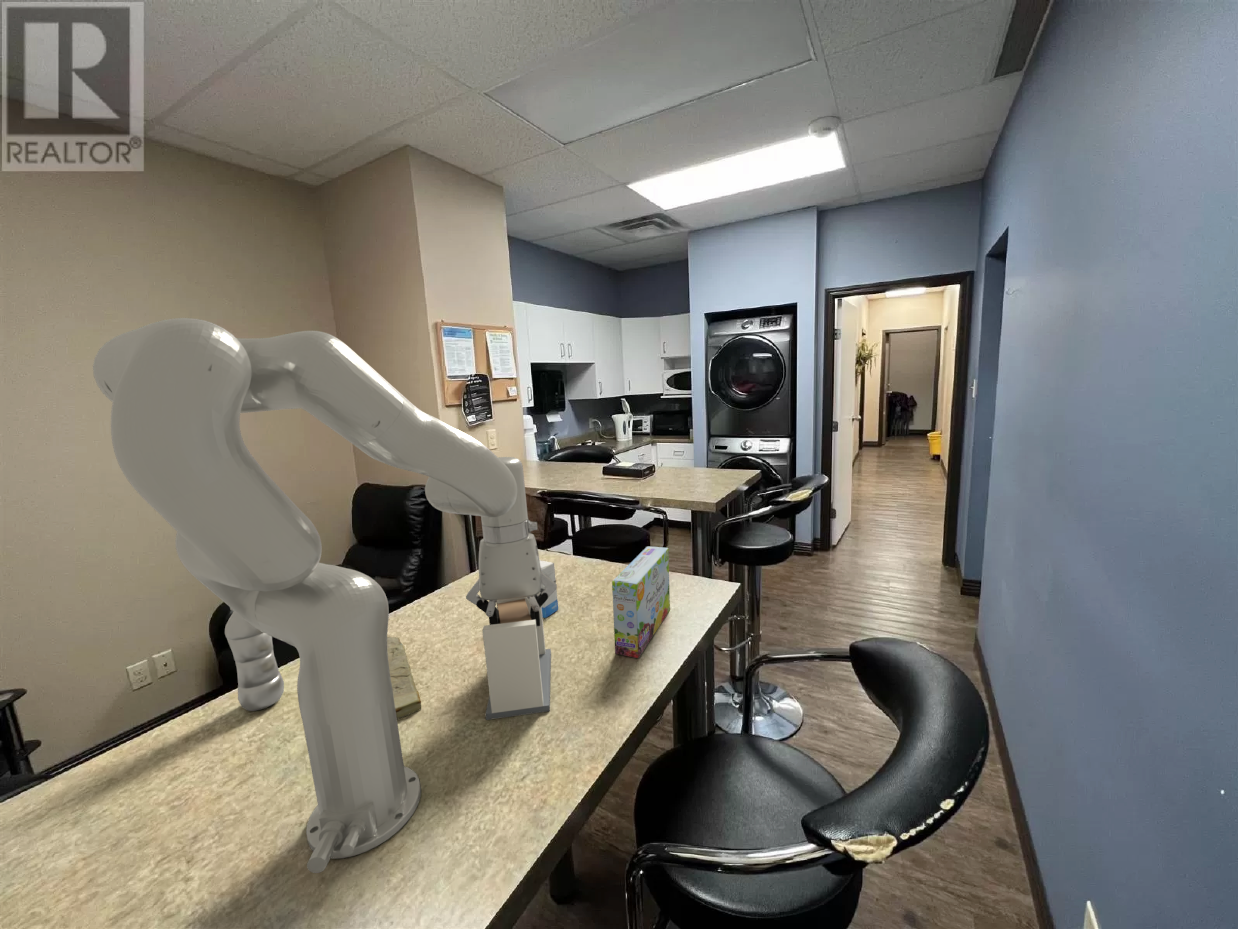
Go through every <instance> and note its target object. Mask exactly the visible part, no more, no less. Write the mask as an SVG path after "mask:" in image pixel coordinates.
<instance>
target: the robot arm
mask: <svg viewBox="0 0 1238 929" xmlns="http://www.w3.org/2000/svg"><path fill="white" fill-rule="evenodd" d="M92 371H93V377H94V379H95V380H94V381H95V383H96V386H97V387H98V388H99V390H100V392H101V393H102V394H103V395H104V396H105V397H106V398H107V399H108V400H109V401H111V402H112V404H111V405H112V406H111V412H110V436H111V443H112V447H113V453H114V456H115V458H116V461H117V464H118V466H119V468H120V470H121V472H122V474H123V476H124V477H125V478H126V480H127V481H128V482H129V484H130V485H131V487H132V488H133V489H134V490H135V491H136V493H137V494H139V496H140V497H141V498H143V500H145V502H146V503H147V504H149V506H150V507H151V508H153V509H154V510H155V512H157V513H158V514H159V515H160V516H161V517H162V518H163V519H164V520H165V521H166V522H167V523H168V524H169V525H170V527H172V529H174V530H175V531H176V535H175V549H176V554H177V557H178V559H179V560H180V562H181V563H182V565H183V567H184V568H185V569H186V570H187V571H188V573H190V574H191V576H193V577H194V578H195V579H196V580H197V581H199V583H200V584H202V585H203V586H204V587H205V588H207V589H208V590H209V591H211V593H212V594H214V595H215V596H216V597H217V598H218V599H220V600H221V601H222V602H223V603H225V604H226V605H227V606H228V607H229V608H230V607H231V608H232V609H233V610H234V611H235V612H237V613H238V614H239V615H240V616H242V617H243V618H244V619H245V620H247V621H248V622H249V623H250V624H252V625H253V626H254V627H256V628H257V629H259V630H260V631H262V632H264V633H266V634H268V635H270V636H272V638H275V639H277V640H279V641H282V642H284V643H285V644H288V645H290V646H293V647H294V648H296V650H297V652H298V655H299V671H298V674H297V675H298V676H297V681H296V682H297V683H296V684H297V685H296V686H297V687H296V689H297V690H296V691H297V692H296V693H297V700H298V706H299V712H300V717H301V720H302V726H303V731H304V737H305V741H306V747H307V753H308V758H309V764H310V765H309V766H310V770H311V774H312V780H313V785H314V791H315V796H316V802H317V805H316V806H315V808H314V810H313V811H312V812H311V814H310V816H309V818H308V821H307V825H306V830H305V831H306V832H305V833H306V838H307V844H308V846H309V848H310V850H311V851H312V854H311V855H310V858H309V860H308V861H307V863H306V868H307V870H308V871H309V872H311V873H313V874H319V873H322V872H323V871H324V870H325V869H326V868H327V867H328V863H329V862H330V860H331V859H332V860H333V859H344V858H350V857H354V856H356V855H357V856H358V855H360V854H363V853H366V852H368V851H370V850H372V849H374V848H376V847H378V846H379V845H381V844H383V843H384V842H386V841H387V840H390V838H391V837H393V836H394V835H395V834H396V833H397V832H399V831H400V830H401V829H402V828H403V826H404V825H406V824H407V823H408V821H409V820H410V819H411V817H412V816H413V814H415V811H416V810H417V808H418V805H419V803H420V800H421V795H422V794H421V793H422V788H421V781H420V779H419V775H418V774H417V773H416V771H415V770H414V769H411V768H410V767H408V766H405V763H404V757H403V751H402V745H401V738H400V737H401V736H400V732H399V726H398V725H399V723H398V719H397V717H396V710H395V703H394V696H393V689H392V683H391V678H390V671H389V663H388V652H387V637H388V633H389V632H388V630H389V615H390V614H389V612H390V611H389V608H390V606H389V601H388V598H387V596H386V593H385V591H384V589H383V588H382V586H381V585H380V584H379V583H378V582H377V581H376V580H375V579H373V578H372V577H371V576H369V575H367V574H365V573H363V572H361V571H358V570H355V569H352V568H346V567H342V566H338V565H335V564H327V563H324V562H320V561H321V558H322V553H323V552H322V551H323V549H322V548H323V547H322V546H323V545H322V540H321V536H320V533H319V532H318V529H317V527H316V526H315V525H314V523H313V522H312V521H311V519H310V518H309V517H308V516H307V515H306V514H305V512H303V511H302V510H301V509H300V508H299V507H298V506H297V505H296V503H294V501H292V500H291V498H290V497H289V496H288V495H287V494H286V493H285V492H284V491H283V489H281V487H280V486H279V485H278V484H277V483H276V482H275V481H274V480H273V479H272V478H271V476H270V475H269V474H267V472H266V471H265V470H264V469H263V467H262V465H261V464H260V463H259V462H258V461H257V460H256V458H255V457H254V456H253V455H252V453H251V452H250V450H249V448H248V447H247V445H246V444H245V441H244V439H243V436H242V432H241V427H240V426H241V425H240V424H241V423H240V421H241V414H246V413H247V414H248V413H257V412H268V411H280V410H282V411H283V410H293V409H294V410H295V409H296V410H297V409H302V410H303V411H306V412H307V413H308V414H310V415H312V416H313V417H314V418H315V419H316V420H318V421H320V423H322V424H324V425H325V426H326V427H328V428H330V429H331V430H332V431H333V432H335V433H336V434H338V435H339V436H341V437H342V438H343V439H345V440H346V441H347V442H349V443H351V445H353V446H354V447H355V448H357V449H359V450H360V451H361V452H362V453H364V454H366V456H368V457H370V458H371V459H373V460H375V461H378V462H380V463H383V464H385V465H387V466H390V467H394V468H396V469H400V470H404V471H407V472H412V473H417V474H420V475H422V476H427V477H428V478H427V480H426V483H425V488H424V492H425V493H424V494H425V497H426V499H427V501H428V503H429V504H430V505H431V506H432V507H433V508H434V509H436V510H438V511H440V512H444V513H448V514H456V515H465V516H467V515H469V516H477V517H480V518H481V527H482V537H483V538H482V539H480V541H479V548H478V549H479V551H478V579H477V581H476V582H475V583H474V584H473V585H472V587H471V588H470V589H469V590H468V592H467V594H466V595H465V596H466V597H465V599H466V600H467V601H469V602H470V603H471V604H473V605H476V607H477V609H479V610H481V611H482V612H483V613H485V615H486V617H487V618H488V622H489V624H488V625H493V624H500V619H499V610H498V608H497V600H503V599H512V598H521V597H527V599H528V601H529V603H530V605H531V609H530V617H531V620H536V629H537V626H540V614H539V609H540V607H541V606H542V605H543V604H544V603H545V601H546V600H547V599H548V597H549V596H551V595H552V593H553V592H554V591H555V590H556V589H557V588H558V585H557V582H556V583H555V582H554V581H552V580H551V579H550V578H549V577H548V576H547V575H545V574H544V573H543V572H542V571H541V566H540V560H541V559H540V554H539V549H538V545H537V540H536V537H535V535H534V534H533V533H532V532H533V531H538V521H531V520H530V519H529V516H528V515H529V514H528V507H527V506H528V505H527V497H526V496H527V494H526V486H525V475H524V465H523V463H522V461H521V459H520V458H517V457H514V456H499V457H498V456H497V455H496V454H495V453H494V452H493V451H492V450H491V449H489V448H488V447H487V446H486V445H485V444H484V443H482V442H480V441H479V440H477V439H476V438H474V437H472V436H471V435H469V434H467V433H465V432H463V431H462V430H459V429H458V428H456V427H454V426H452V425H451V424H448V423H446V422H444V421H443V420H441V419H440V418H437V417H435V416H433V415H431V414H428V412H427V413H426V412H424V411H423V410H421V409H420V408H418V407H417V406H416V405H415V404H414V403H412V402H411V401H410V400H409V399H408V398H407V397H406V396H404V395H403V394H402V393H401V392H400V391H399V390H398V389H396V387H394V386H393V385H392V384H391V383H390V382H388V380H387V379H385V378H384V377H383V376H382V375H381V374H380V373H379V372H377V370H375V369H374V368H373V367H372V366H371V365H370V364H368V362H367V361H365V360H364V359H363V358H362V357H361V356H360V355H358V354H357V353H356V352H355V351H354V350H353V349H352V348H351V347H350V346H348V345H347V344H346V343H345V342H344V341H342V340H341V339H339V338H337V337H336V336H334V335H332V334H330V333H328V332H324V331H319V330H302V331H296V332H295V331H294V332H290V333H287V334H285V333H284V334H281V335H277V336H271V337H261V338H260V337H259V338H258V337H257V338H253V337H252V338H245V337H244V338H242V337H241V338H237V337H235V335H234V334H233V333H232V332H230V331H228V330H227V329H225V328H224V327H222V326H220V325H218V324H216V323H214V322H211V321H208V320H204V319H199V318H191V317H190V318H189V317H178V318H169V319H163V320H160V321H156V322H151V323H149V324H146V325H144V326H141V327H139V328H136V329H133V330H129V331H127V332H123V333H121V334H119V335H118V334H117V335H116V336H114V337H113V338H112V339H110V340H108V341H106V342H105V343H104V344H103V345H102V346H101V348H100V349H98V351H97V353H96V355H95V356H94V360H93V365H92ZM541 584H543V585H544V586H546V588H545V590H544V591H542V592H541V593H540V594H539V596H538V595H537V594H538V593H539V592H540V591H541ZM479 593H480V594H479Z"/></svg>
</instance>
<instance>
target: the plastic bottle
mask: <svg viewBox="0 0 1238 929" xmlns="http://www.w3.org/2000/svg"><path fill="white" fill-rule="evenodd" d="M229 609H230V611H231V612H232V613H231V615H230V617H229V618H228V621H227V622H226V624H225V628H224V635H225V638H226V640H227V643H228V645H229V648H230V649H231V652H232V655H233V660H234V661H235V663H234V664H235V666H236V673H237V683H238V685H237V700H238V702H239V705H240V707H241V708H242V709H244V710H245V711H248V712H256V711H260V710H263V709H266V708H268V707H271V706H272V705H275V704H276V703H277V702H278V701H280V699H281V698H282V696H283V694H284V691H285V682H284V679H283V676H282V673H281V672H280V671H279V667H278V663H277V659H276V657H275V653H274V644H273V637H272V636H270V635H268V634H266V633H264V632H262V631H260V630H259V629H257V628H256V627H254V626H253V625H252V624H250V623H249V622H248V621H247V620H245V619H244V618H243V617H242V616H240V615H239V614H238V613H237V612H235V611H234V610H233V609H232V608H231V607H229Z"/></svg>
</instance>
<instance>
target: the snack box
mask: <svg viewBox="0 0 1238 929" xmlns="http://www.w3.org/2000/svg"><path fill="white" fill-rule="evenodd" d="M669 551H670V550H669V547H661V546H659V547H658V546H651V545H650V546H645V548H644V549H642V551H641V552H640V553H639V554H638V555H636V557H635V558H634V559H633V560H632V561H631V562H630V563H629V564H628V565H627V566H626V567H625V568H624V569H623V570H622V571H621V572H620V573H619V574H618V575H617V576H616V577H614V579H613V580H612V581H611V588H612V590H611V591H612V610H613V611H612V612H613V616H612V617H613V633H614V634H613V635H614V637H613V638H614V654H615V655H620V656H624V657H629V658H635V659H640V657H641V656H642V654H643V653H644V651H645V649H646V648H647V646H648V644H649V643H650V641H651V640H652V638H653V637H654V635H655V633H656V632H657V631H658V629H659V628H660V626H661V625H662V623H663V621H664V620H665V619H666V617H667V615H668V614H669V613H670V611H671V600H670V561H669V560H670V557H669V553H670V552H669Z"/></svg>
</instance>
